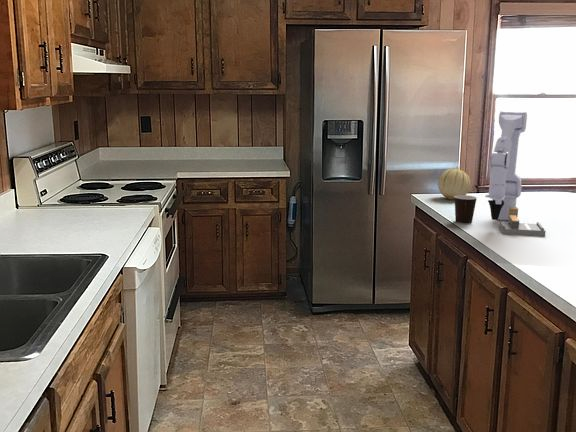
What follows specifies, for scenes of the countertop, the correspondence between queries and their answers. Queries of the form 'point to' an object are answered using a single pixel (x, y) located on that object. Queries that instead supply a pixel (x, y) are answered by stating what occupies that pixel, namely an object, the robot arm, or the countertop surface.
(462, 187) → the cantaloupe
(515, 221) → the breaker toggle
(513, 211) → the oak post
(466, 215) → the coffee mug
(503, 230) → the box
